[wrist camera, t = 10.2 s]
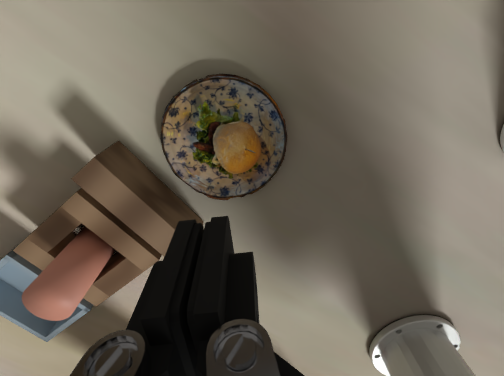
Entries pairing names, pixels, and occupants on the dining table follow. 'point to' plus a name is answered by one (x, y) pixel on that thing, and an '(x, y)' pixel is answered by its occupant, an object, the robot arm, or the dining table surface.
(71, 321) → the tray
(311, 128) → the dining table surface
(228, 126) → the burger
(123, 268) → the socket block
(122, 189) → the rail
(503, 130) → the pill bottle
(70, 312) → the dowel
